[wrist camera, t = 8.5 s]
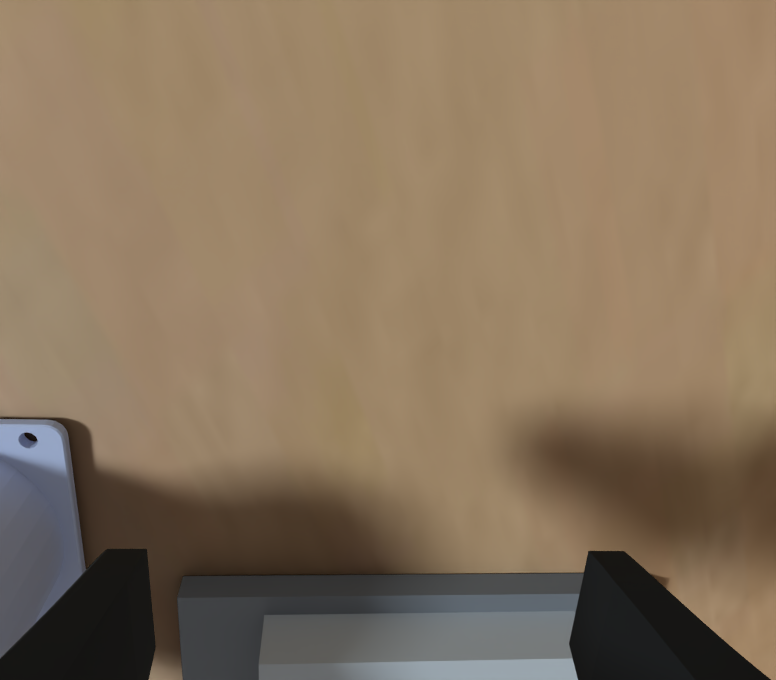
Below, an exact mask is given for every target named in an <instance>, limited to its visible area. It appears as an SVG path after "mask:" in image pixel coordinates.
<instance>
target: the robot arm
mask: <svg viewBox="0 0 776 680" xmlns="http://www.w3.org/2000/svg"><path fill="white" fill-rule="evenodd" d="M26 432H27V433H32V434H33V435H34V436H36V438H37V440H38V441H30V440H29V439H27V438H26V437H25V435H24V433H26ZM569 646H570V650H571V654H572V658H573V662H574V666H575V670H576V674H577V678H578V680H771V679H769V678H768V677H767V676H766V675H764V674H763V673H762V672H761V671H759V670H758V669H757V668H756V667H754V666H753V665H752V664H751V663H750V662H748V661H747V660H746V659H745V658H744V657H742V656H741V655H740V654H739V653H738V652H737V651H735V650H734V649H733V648H732V647H731V646H730V645H728V644H727V643H726V642H725V641H724V640H723V639H721V638H720V637H719V636H718V635H717V634H716V633H715V632H713V631H712V630H711V629H710V628H709V627H708V626H707V625H706V624H704V623H703V622H702V621H701V620H700V619H699V618H698V617H697V616H695V615H694V614H693V613H692V612H691V611H690V610H689V609H688V608H687V607H685V606H684V605H683V604H682V603H681V602H680V601H679V600H678V599H677V598H676V597H675V596H673V595H672V594H671V593H670V592H669V591H668V590H667V589H666V588H665V587H664V586H662V585H661V584H660V583H659V582H658V581H657V580H656V579H655V578H654V577H653V576H652V575H650V574H649V573H648V572H647V571H646V570H645V569H644V568H643V567H642V566H640V565H639V564H638V563H637V562H636V561H635V560H634V559H633V558H631V557H630V556H629V555H628V554H627V553H626V552H624V551H589V552H588V557H587V561H586V566H585V571H584V575H583V580H582V585H581V589H580V594H579V599H578V603H577V608H576V613H575V618H574V622H573V627H572V632H571V636H570V641H569ZM155 647H156V646H155V635H154V624H153V613H152V602H151V591H150V580H149V569H148V558H147V549H107V550H105V551H104V552H103V553H102V554H101V555H100V556H99V557H98V558H97V559H96V560H95V561H94V562H93V563H92V564H91V565H90V566H89V568H88V569H87V570H86V567H85V560H84V552H83V544H82V537H81V529H80V521H79V514H78V506H77V499H76V491H75V483H74V476H73V468H72V460H71V453H70V445H69V437H68V433H67V430H66V428H65V427H64V426H63V425H62V424H60V423H58V422H56V421H53V420H36V419H0V680H148V679H149V675H150V670H151V666H152V661H153V656H154V652H155Z"/></svg>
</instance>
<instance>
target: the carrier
mask: <svg viewBox="0 0 776 680" xmlns="http://www.w3.org/2000/svg"><path fill="white" fill-rule="evenodd" d="M583 575H584V573H549V574H412V575H276V576H183V579H182V582H181V586H180V589H179V593H178V597H177V603H178V617H179V632H180V646H181V660H182V675H183V680H578V678H577V674H576V670H575V666H574V662H573V658H572V654H571V650H570V646H569V641H570V636H571V632H572V627H573V622H574V618H575V613H576V608H577V603H578V599H579V594H580V589H581V585H582V580H583Z"/></svg>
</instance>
